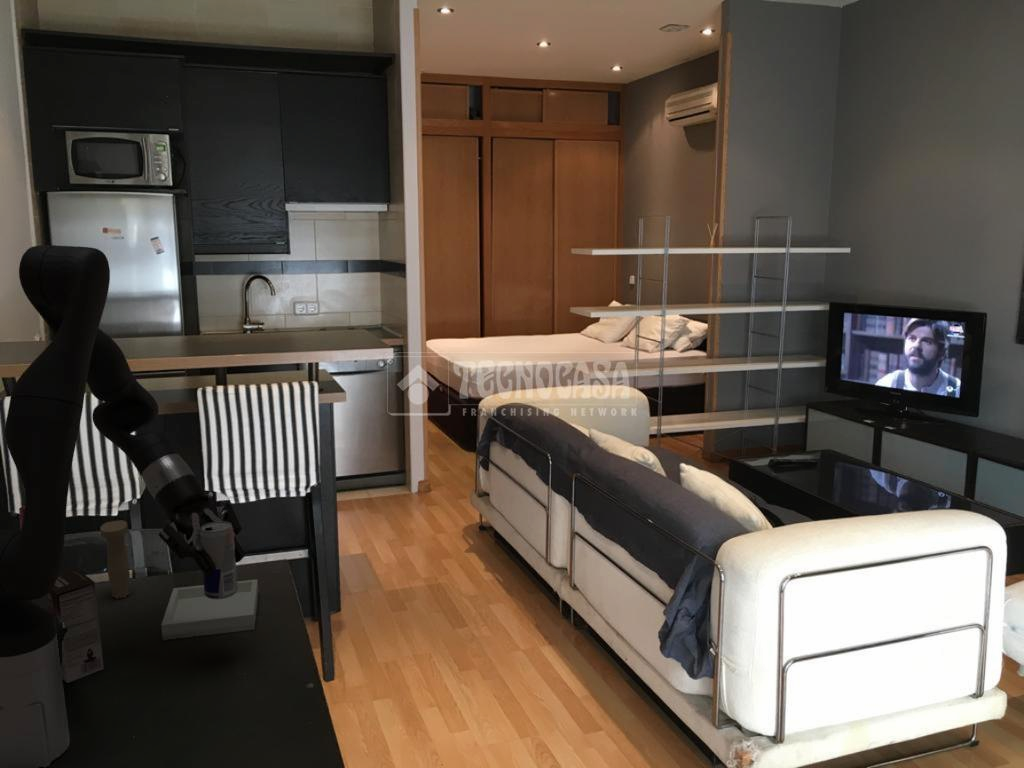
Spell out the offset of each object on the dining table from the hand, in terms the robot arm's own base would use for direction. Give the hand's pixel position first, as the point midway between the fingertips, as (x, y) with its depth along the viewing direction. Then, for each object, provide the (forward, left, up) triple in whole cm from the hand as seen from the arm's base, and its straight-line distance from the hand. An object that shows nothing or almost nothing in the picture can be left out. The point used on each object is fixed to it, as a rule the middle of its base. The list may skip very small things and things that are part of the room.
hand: (226, 565), depth 141 cm
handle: (+33, +24, -18) cm, 45 cm away
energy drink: (+1, +1, -6) cm, 6 cm away
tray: (+19, +5, -18) cm, 27 cm away
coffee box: (+5, +26, -18) cm, 32 cm away
